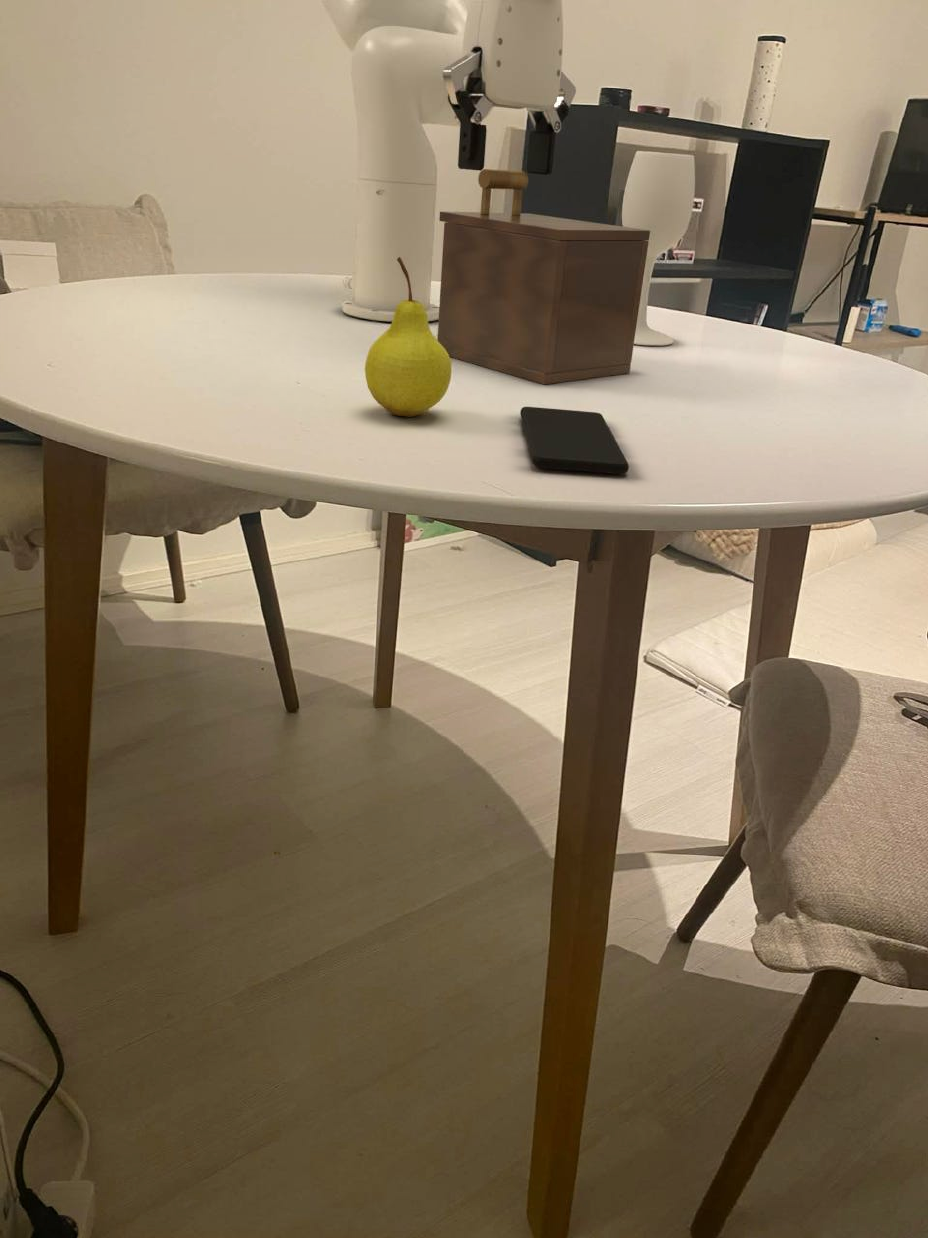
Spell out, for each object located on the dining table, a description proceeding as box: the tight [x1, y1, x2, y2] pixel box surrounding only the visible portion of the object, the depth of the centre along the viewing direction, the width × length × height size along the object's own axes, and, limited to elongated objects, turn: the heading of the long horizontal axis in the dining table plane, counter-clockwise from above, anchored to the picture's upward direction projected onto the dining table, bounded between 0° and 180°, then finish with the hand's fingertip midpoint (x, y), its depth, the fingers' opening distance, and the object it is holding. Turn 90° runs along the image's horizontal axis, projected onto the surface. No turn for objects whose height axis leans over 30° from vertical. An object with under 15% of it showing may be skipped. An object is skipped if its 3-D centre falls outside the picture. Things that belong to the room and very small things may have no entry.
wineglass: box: [621, 150, 696, 347], centre depth 117 cm, size 9×9×21 cm
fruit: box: [364, 257, 452, 418], centre depth 78 cm, size 7×7×12 cm
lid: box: [438, 168, 650, 240], centre depth 97 cm, size 17×13×5 cm
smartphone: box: [519, 406, 630, 475], centre depth 75 cm, size 7×1×15 cm
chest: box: [436, 222, 649, 385], centre depth 101 cm, size 16×13×13 cm
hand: (505, 171), depth 100 cm, fingers open, 9 cm apart
